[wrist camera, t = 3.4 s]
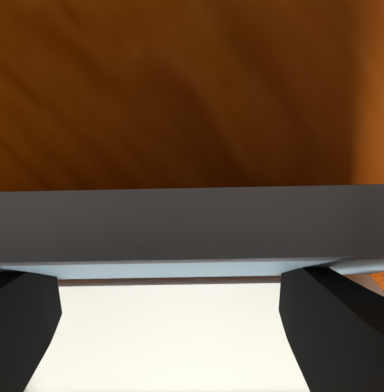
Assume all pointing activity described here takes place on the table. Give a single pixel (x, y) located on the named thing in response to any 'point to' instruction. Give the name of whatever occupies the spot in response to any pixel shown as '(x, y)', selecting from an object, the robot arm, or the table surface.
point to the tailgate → (192, 231)
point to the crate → (172, 336)
